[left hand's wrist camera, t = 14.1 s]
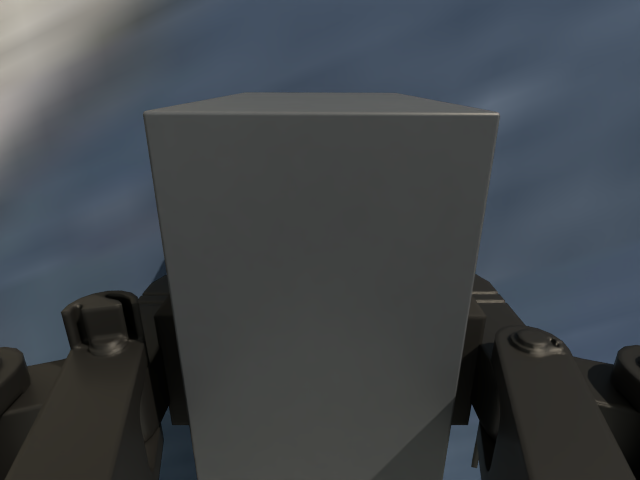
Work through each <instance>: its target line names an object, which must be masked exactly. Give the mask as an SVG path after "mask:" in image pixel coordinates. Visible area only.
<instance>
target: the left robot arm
mask: <svg viewBox="0 0 640 480" xmlns="http://www.w3.org/2000/svg"><path fill="white" fill-rule="evenodd" d="M61 314H62V318H63V322H64V325H65V329H66V333H67V336H68V340H69V344H70V348H71V351H70V353H69V355H68V356H67V358H66V359H62V360H58V361H53V362H48V363H42V364H37V365H32V366H27V365H26V362H25V359H24V356H23V353H22V352H21V351H19V350H18V349H16V348H9V347H0V480H159V474H160V466H161V458H162V450H163V442H164V439H163V432H162V426H161V421H162V419H163V417H164V414H165V412H166V410H167V408H168V406H169V409H170V415H171V421H172V425H189V419H188V412H187V405H186V399H185V392H184V385H183V379H182V372H181V365H180V359H179V352H178V345H177V338H176V332H175V325H174V318H173V312H172V305H171V298H170V292H169V285H168V278H167V275H165V276H163V277H161V278H160V279H158V280H156V281H155V282H153V283H151V284H150V286H149V287H148V288H147V289H146V290H145V292H144V293H143V296H140V298H139V299H138V297H137V296H135V295H134V294H133V293H131V292H126V291H105V292H100V293H95V294H91V295H88V296H85V297H83V298H80V299H78V300H76V301H74V302H73V303H71V304H69V305H68V306H67V307H66V308H65V309H64V310H63V311H62V312H61ZM471 405H473V408H474V410H475V412H476V414H477V416H478V418H479V420H480V421H479V426H478V432H477V437H476V443H475V448H474V453H473V459H472V466H471V467H474V468H477V465H478V460H479V465H480V473H481V480H640V345H633V346H625V347H623V348H622V349H621V350H619V351H618V353H617V357H616V360H615V363H614V365H613V364H608V363H602V362H597V361H592V360H587V359H581V358H577V357H573V356H572V354H571V352H570V350H569V348H568V347H567V346H566V345H565V344H564V342H563V341H561V340H560V339H558V338H557V337H555V336H554V335H552V334H550V333H548V332H545V331H543V330H541V329H538V328H533V327H529V326H526V325H525V324H524V323H523V322H522V321H521V319H520V318H519V317H518V316H517V315H516V314H515V312H514V311H513V310H512V309H511V308H510V306H509V305H508V304H507V303H505V300H504V299H503V298H502V297H501V296H500V294H498V292H497V291H496V290H495V288H494V287H493V286H492V285H491V284H490V282H488V281H486V280H485V279H483V278H481V277H480V276H478V275H476V274H475V277H474V283H473V289H472V296H471V302H470V308H469V315H468V321H467V327H466V334H465V340H464V346H463V353H462V359H461V365H460V372H459V378H458V384H457V391H456V397H455V403H454V410H453V416H452V422H451V425H468V422H469V416H470V410H471Z"/></svg>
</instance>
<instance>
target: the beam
mask: <svg viewBox="0 0 640 480" xmlns="http://www.w3.org/2000/svg"><path fill="white" fill-rule="evenodd" d="M143 117H144V124H145V131H146V137H147V144H148V151H149V157H150V164H151V171H152V178H153V184H154V191H155V198H156V204H157V211H158V218H159V224H160V231H161V238H162V245H163V251H164V258H165V265H166V271H167V278H168V285H169V292H170V298H171V305H172V312H173V318H174V325H175V332H176V338H177V345H178V352H179V359H180V365H181V372H182V379H183V385H184V392H185V399H186V405H187V412H188V419H189V426H190V432H191V439H192V446H193V452H194V459H195V466H196V473H197V479H198V480H442V479H443V473H444V466H445V460H446V454H447V447H448V441H449V435H450V429H451V422H452V416H453V410H454V403H455V397H456V391H457V384H458V378H459V372H460V365H461V359H462V353H463V346H464V340H465V334H466V327H467V321H468V315H469V308H470V302H471V296H472V289H473V283H474V277H475V270H476V264H477V258H478V251H479V245H480V239H481V233H482V226H483V220H484V214H485V207H486V201H487V195H488V188H489V182H490V176H491V169H492V163H493V157H494V150H495V144H496V138H497V131H498V125H499V119H500V114H499V113H498V112H494V111H488V110H483V109H478V108H472V107H467V106H462V105H457V104H451V103H446V102H441V101H435V100H430V99H425V98H419V97H414V96H409V95H403V94H398V93H240V94H235V95H229V96H224V97H219V98H213V99H208V100H202V101H197V102H192V103H186V104H181V105H175V106H170V107H165V108H159V109H154V110H149V111H145V112H144V113H143Z"/></svg>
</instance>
